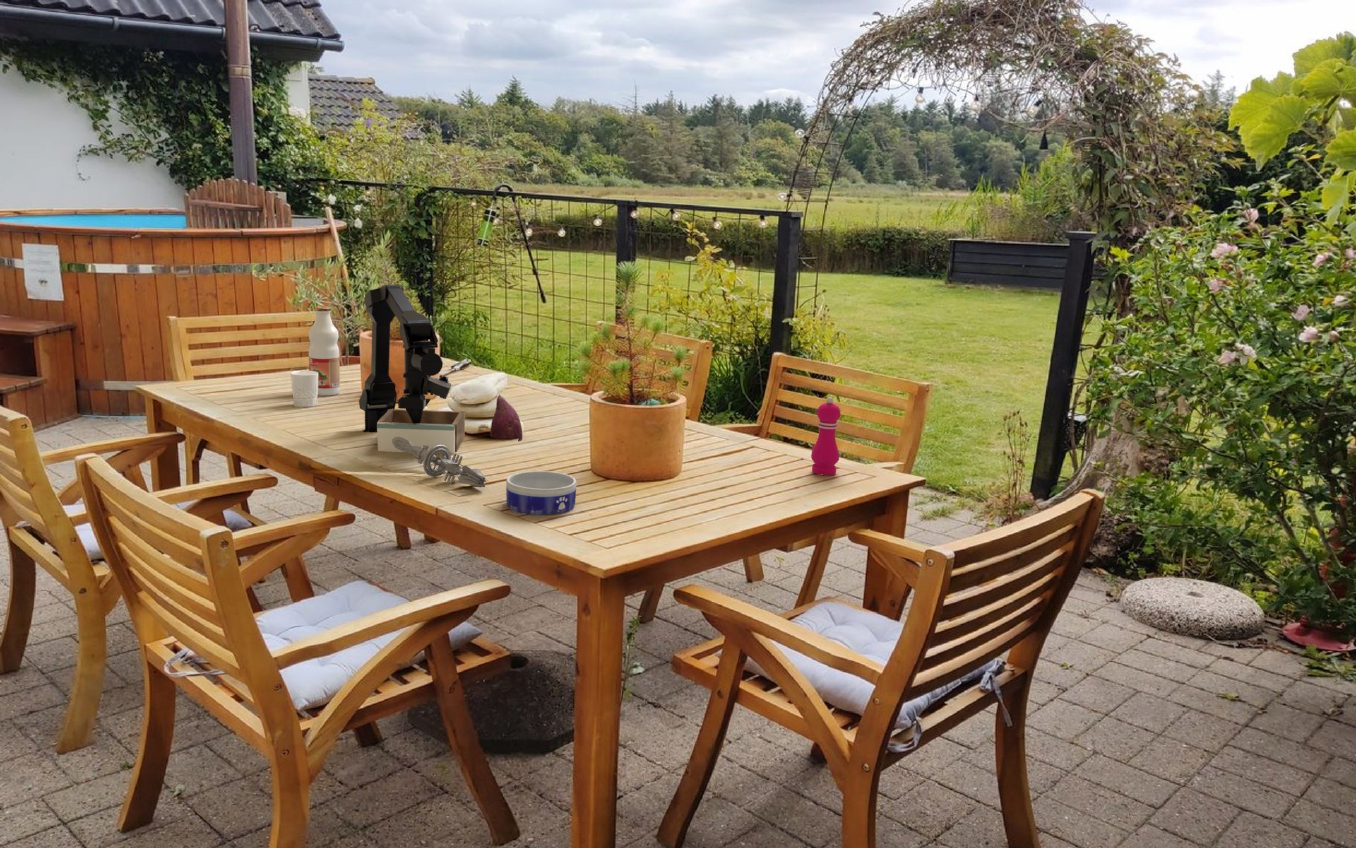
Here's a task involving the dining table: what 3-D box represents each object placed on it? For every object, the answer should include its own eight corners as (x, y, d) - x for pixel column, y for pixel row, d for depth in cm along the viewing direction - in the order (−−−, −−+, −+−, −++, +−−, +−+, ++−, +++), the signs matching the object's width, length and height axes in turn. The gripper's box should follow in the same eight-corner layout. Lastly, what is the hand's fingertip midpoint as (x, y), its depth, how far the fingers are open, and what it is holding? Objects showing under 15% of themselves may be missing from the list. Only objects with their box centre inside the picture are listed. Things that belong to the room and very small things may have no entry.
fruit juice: (344, 394, 333) (342, 308, 327) (315, 397, 328) (312, 309, 322) (334, 389, 340) (332, 305, 334) (305, 391, 335) (303, 305, 329)
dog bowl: (546, 492, 238) (546, 466, 237) (589, 508, 228) (590, 481, 226) (491, 503, 227) (492, 477, 226) (535, 520, 217) (536, 493, 216)
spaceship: (410, 428, 258) (385, 420, 252) (502, 470, 238) (479, 463, 231) (398, 458, 258) (373, 451, 251) (490, 502, 237) (466, 496, 231)
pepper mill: (820, 477, 263) (826, 400, 258) (804, 470, 269) (810, 395, 264) (843, 475, 266) (850, 399, 262) (827, 468, 272) (833, 393, 268)
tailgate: (378, 451, 263) (376, 423, 260) (378, 449, 264) (377, 422, 262) (454, 453, 265) (453, 426, 262) (454, 451, 266) (454, 424, 263)
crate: (377, 452, 265) (377, 421, 263) (390, 437, 280) (389, 409, 278) (456, 454, 266) (456, 424, 265) (464, 440, 282) (464, 411, 280)
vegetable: (485, 448, 285) (471, 402, 283) (505, 438, 293) (492, 393, 290) (511, 445, 281) (498, 398, 278) (531, 435, 288) (518, 389, 286)
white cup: (324, 405, 317) (323, 373, 314) (303, 408, 310) (302, 376, 308) (307, 401, 321) (306, 369, 319) (286, 404, 314) (285, 372, 312)
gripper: (443, 376, 251) (444, 438, 255) (453, 362, 269) (453, 420, 273) (397, 375, 250) (398, 437, 254) (410, 360, 268) (411, 419, 272)
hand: (417, 428), depth 263 cm, fingers closed
